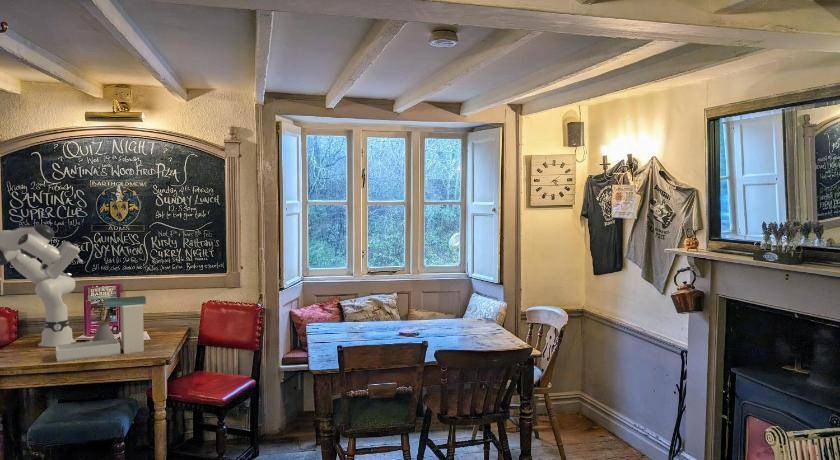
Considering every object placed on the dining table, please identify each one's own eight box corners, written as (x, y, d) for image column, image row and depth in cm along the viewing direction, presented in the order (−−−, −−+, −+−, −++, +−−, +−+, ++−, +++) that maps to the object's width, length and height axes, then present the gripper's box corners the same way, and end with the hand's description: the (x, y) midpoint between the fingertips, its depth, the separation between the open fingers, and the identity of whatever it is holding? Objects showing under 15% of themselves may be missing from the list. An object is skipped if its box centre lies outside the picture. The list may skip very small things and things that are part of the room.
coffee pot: (111, 344, 357) (111, 319, 356) (90, 345, 354) (89, 320, 353) (121, 336, 377) (121, 312, 377) (101, 336, 375) (100, 312, 374)
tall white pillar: (121, 348, 348) (120, 303, 346) (140, 346, 353) (139, 302, 351) (124, 353, 338) (123, 307, 336) (143, 351, 343) (143, 305, 341)
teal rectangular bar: (105, 306, 339) (105, 298, 338) (144, 302, 349) (144, 295, 349) (106, 307, 335) (106, 300, 335) (145, 304, 346) (145, 297, 345)
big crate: (55, 356, 331) (55, 345, 330) (117, 349, 347) (117, 338, 347) (57, 362, 320) (56, 350, 319) (120, 354, 336) (120, 343, 336)
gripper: (65, 238, 325) (88, 251, 333) (38, 268, 323) (63, 281, 331) (65, 241, 319) (89, 255, 327) (38, 272, 318) (63, 285, 326)
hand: (76, 268), depth 329 cm, fingers open, 8 cm apart
